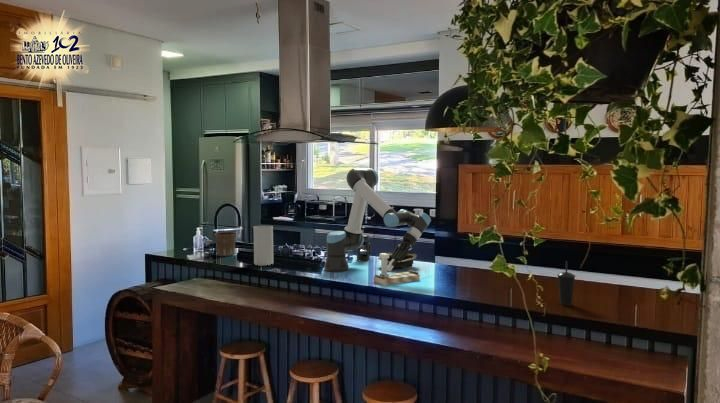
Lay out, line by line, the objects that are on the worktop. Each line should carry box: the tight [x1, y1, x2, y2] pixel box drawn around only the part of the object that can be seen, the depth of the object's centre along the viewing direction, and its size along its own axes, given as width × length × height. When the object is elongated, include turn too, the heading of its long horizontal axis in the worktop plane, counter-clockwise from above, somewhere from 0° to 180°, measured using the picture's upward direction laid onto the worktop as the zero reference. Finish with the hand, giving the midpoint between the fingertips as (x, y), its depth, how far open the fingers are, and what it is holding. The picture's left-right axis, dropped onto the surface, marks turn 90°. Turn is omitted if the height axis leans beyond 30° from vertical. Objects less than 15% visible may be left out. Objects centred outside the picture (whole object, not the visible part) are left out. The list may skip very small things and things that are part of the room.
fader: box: [379, 252, 390, 278], centre depth 277 cm, size 3×5×13 cm, turn 31°
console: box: [373, 269, 421, 286], centre depth 282 cm, size 24×10×4 cm, turn 121°
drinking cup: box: [556, 260, 576, 307], centre depth 230 cm, size 8×8×20 cm
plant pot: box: [213, 231, 238, 257], centre depth 372 cm, size 16×16×16 cm
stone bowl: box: [377, 250, 418, 270], centre depth 322 cm, size 25×25×9 cm
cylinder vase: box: [252, 225, 274, 267], centre depth 335 cm, size 12×12×25 cm
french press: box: [356, 226, 371, 262], centre depth 348 cm, size 12×9×23 cm
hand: (388, 269), depth 278 cm, fingers closed
